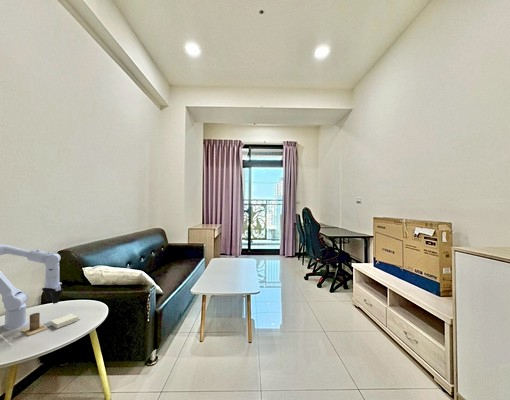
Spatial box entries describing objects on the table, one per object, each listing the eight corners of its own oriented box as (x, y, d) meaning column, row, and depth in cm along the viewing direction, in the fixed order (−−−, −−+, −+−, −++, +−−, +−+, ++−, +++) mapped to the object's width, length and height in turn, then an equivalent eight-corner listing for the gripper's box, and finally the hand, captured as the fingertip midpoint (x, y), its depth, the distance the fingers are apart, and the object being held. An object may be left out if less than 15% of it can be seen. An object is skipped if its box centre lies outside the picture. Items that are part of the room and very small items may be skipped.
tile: (50, 320, 121) (57, 324, 118) (71, 313, 129) (77, 316, 126) (50, 325, 121) (56, 328, 118) (71, 317, 129) (77, 321, 126)
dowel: (28, 329, 116) (28, 315, 116) (37, 326, 119) (37, 312, 119) (31, 331, 114) (31, 316, 114) (40, 328, 117) (41, 313, 118)
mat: (42, 324, 123) (42, 324, 123) (70, 315, 133) (70, 314, 133) (53, 331, 117) (53, 330, 117) (80, 320, 127) (80, 319, 127)
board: (21, 331, 116) (21, 329, 116) (39, 325, 122) (39, 323, 122) (28, 337, 111) (28, 334, 111) (47, 330, 117) (47, 328, 117)
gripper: (67, 276, 129) (67, 301, 128) (55, 272, 136) (55, 296, 136) (51, 280, 122) (51, 306, 122) (39, 275, 130) (39, 300, 130)
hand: (52, 301), depth 129 cm, fingers open, 7 cm apart
